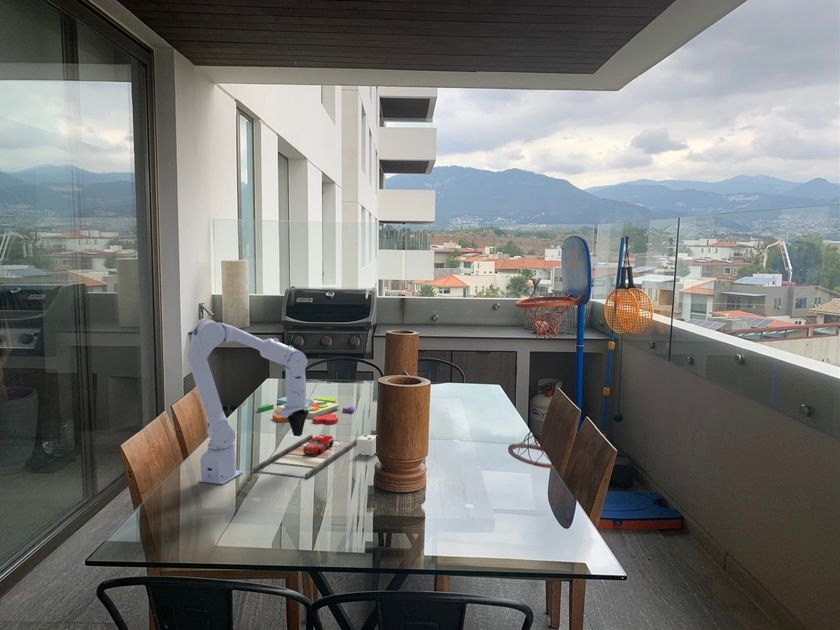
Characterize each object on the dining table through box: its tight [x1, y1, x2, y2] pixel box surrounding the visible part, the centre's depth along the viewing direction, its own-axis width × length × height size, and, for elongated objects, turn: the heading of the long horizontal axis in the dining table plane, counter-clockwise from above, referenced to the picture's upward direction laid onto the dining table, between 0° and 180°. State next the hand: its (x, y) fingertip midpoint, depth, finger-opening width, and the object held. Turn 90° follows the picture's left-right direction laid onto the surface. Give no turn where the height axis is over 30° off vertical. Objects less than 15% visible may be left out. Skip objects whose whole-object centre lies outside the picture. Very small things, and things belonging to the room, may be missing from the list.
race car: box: [303, 434, 334, 455], centre depth 197 cm, size 13×5×4 cm, turn 159°
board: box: [252, 434, 358, 480], centre depth 191 cm, size 33×18×1 cm, turn 161°
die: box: [356, 434, 377, 457], centre depth 193 cm, size 5×5×5 cm
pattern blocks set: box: [257, 396, 355, 425], centre depth 245 cm, size 38×34×3 cm
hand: (297, 435), depth 184 cm, fingers closed
